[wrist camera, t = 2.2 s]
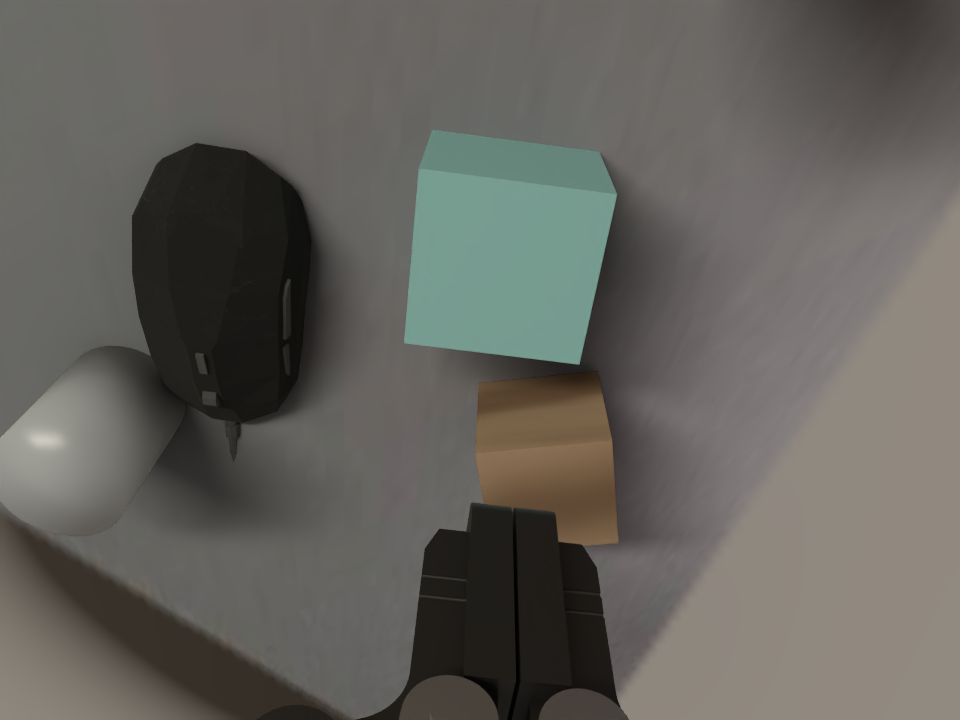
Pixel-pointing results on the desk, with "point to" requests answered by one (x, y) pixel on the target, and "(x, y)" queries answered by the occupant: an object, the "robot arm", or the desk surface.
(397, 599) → the desk surface
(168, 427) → the grey cylinder
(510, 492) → the walnut block
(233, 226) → the gaming mouse
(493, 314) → the teal block
